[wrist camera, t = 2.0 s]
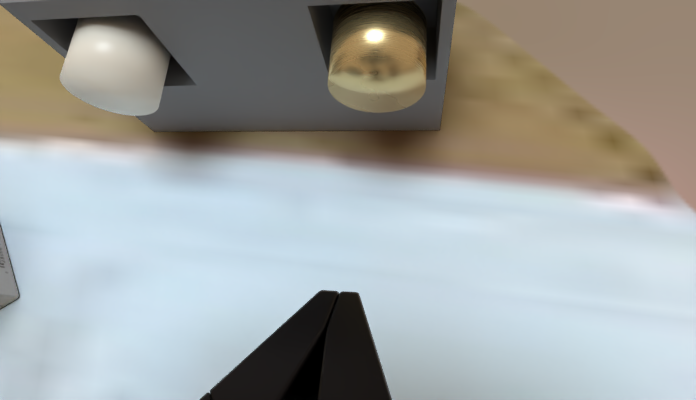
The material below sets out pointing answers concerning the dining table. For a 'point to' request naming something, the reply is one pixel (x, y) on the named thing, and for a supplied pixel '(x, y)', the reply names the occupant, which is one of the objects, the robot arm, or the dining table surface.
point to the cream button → (116, 65)
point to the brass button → (378, 56)
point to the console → (251, 61)
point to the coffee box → (6, 277)
